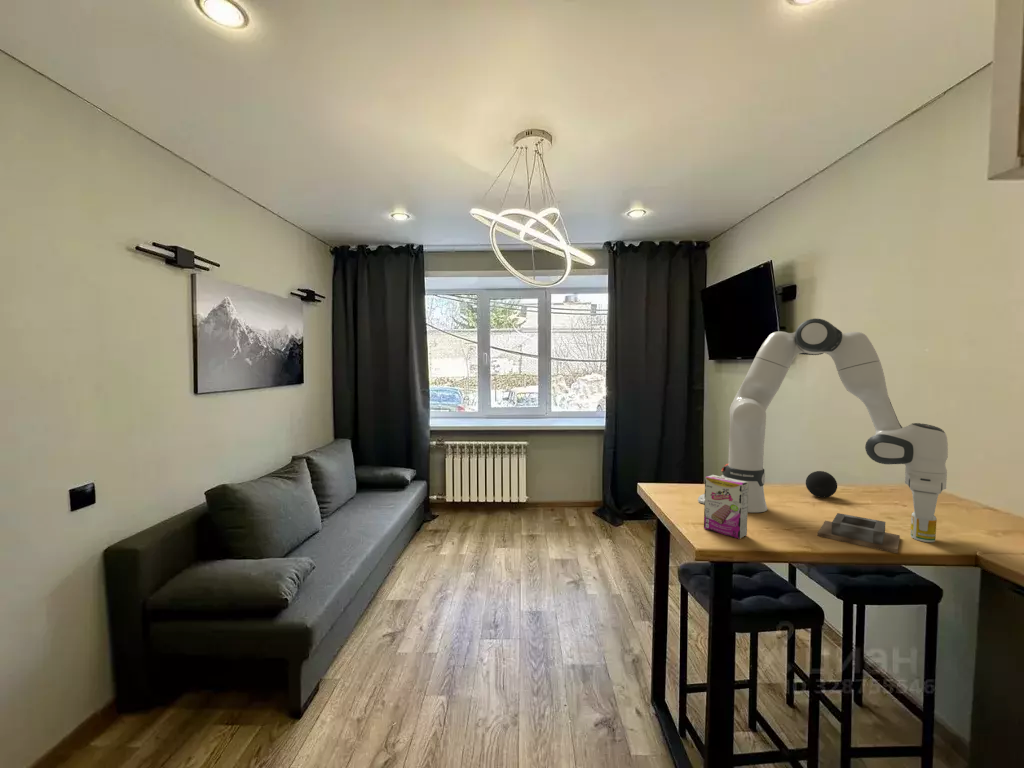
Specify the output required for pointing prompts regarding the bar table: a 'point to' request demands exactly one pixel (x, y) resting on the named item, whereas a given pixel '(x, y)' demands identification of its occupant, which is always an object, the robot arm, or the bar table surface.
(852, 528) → the holder stand
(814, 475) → the speaker
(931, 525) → the supplement bottle
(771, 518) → the bar table surface
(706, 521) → the candy bar box
